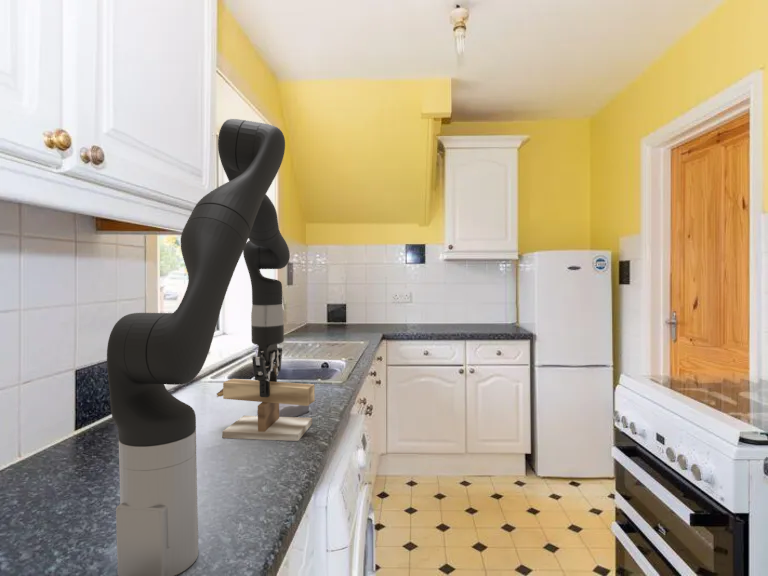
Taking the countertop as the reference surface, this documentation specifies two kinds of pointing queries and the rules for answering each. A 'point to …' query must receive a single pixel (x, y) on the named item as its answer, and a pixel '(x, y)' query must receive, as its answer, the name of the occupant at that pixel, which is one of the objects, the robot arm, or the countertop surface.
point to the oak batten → (278, 392)
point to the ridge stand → (268, 425)
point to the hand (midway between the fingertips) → (268, 393)
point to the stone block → (291, 410)
